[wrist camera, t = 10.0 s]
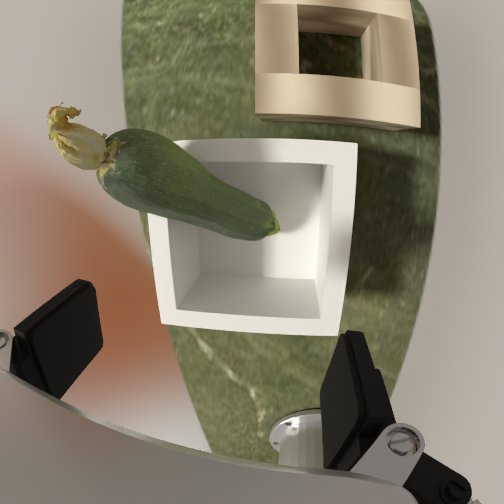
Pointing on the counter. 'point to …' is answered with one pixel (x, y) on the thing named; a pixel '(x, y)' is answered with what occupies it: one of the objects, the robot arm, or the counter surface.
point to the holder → (334, 87)
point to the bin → (263, 241)
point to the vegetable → (160, 178)
